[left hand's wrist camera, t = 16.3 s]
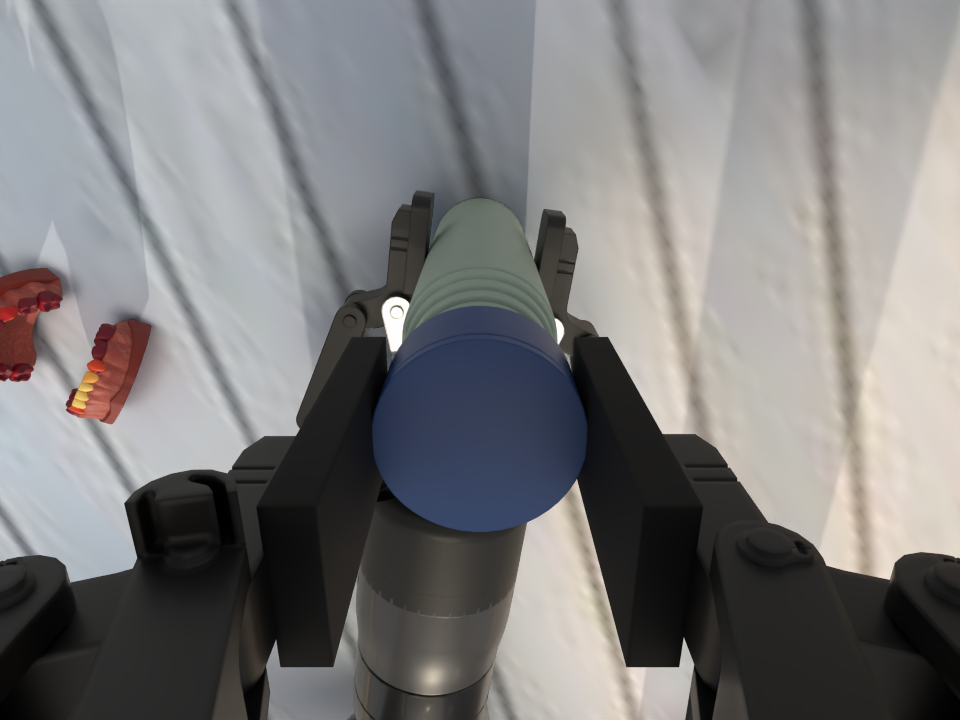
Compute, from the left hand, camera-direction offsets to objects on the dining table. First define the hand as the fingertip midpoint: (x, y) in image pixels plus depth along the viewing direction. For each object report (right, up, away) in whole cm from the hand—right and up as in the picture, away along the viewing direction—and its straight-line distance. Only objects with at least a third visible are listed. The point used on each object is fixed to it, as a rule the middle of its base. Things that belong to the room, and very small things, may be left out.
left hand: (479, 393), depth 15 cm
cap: (0, -1, -2) cm, 2 cm away
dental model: (-20, +2, +18) cm, 27 cm away
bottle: (0, +6, +16) cm, 18 cm away
